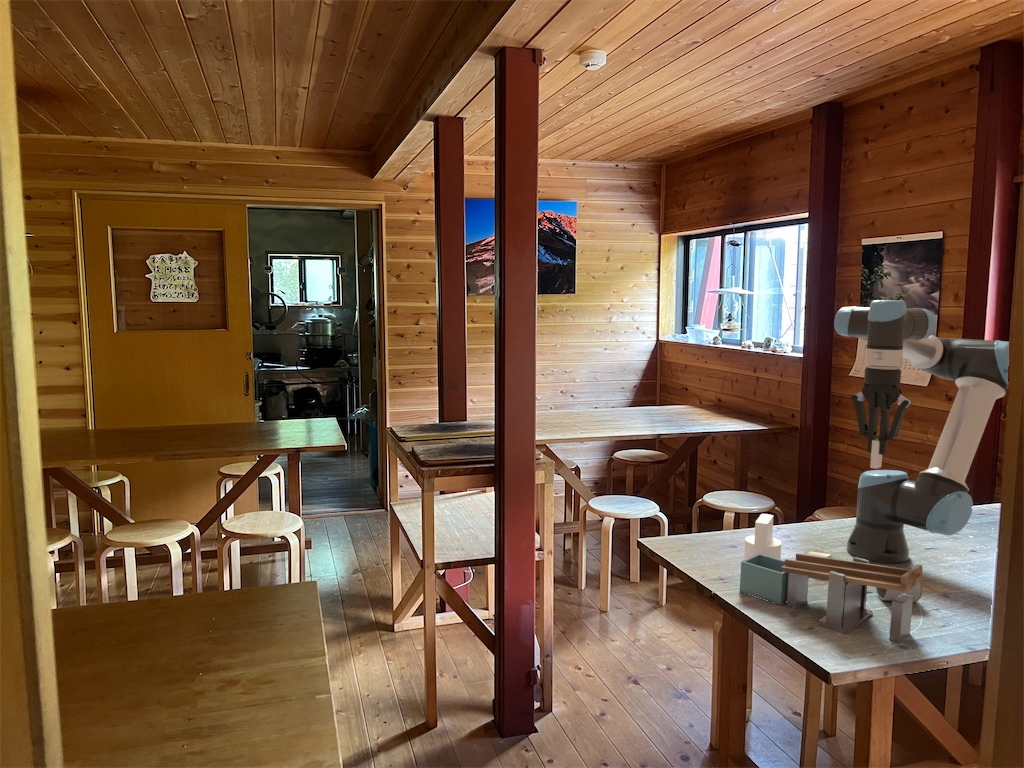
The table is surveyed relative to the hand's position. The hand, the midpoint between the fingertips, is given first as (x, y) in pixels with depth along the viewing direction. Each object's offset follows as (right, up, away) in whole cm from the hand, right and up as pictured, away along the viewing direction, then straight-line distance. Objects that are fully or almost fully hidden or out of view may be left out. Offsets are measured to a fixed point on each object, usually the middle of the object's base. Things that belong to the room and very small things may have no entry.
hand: (875, 467), depth 172 cm
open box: (-25, -30, +1) cm, 39 cm away
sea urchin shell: (-7, -29, +17) cm, 34 cm away
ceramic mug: (+4, -31, 0) cm, 31 cm away
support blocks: (-13, -32, -12) cm, 36 cm away
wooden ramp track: (-11, -22, -12) cm, 27 cm away
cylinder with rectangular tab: (-20, -28, +21) cm, 40 cm away
